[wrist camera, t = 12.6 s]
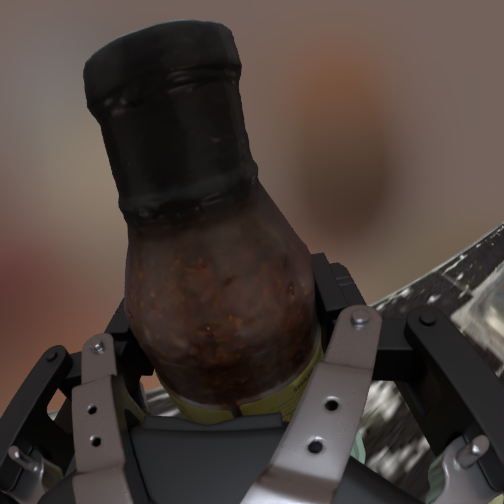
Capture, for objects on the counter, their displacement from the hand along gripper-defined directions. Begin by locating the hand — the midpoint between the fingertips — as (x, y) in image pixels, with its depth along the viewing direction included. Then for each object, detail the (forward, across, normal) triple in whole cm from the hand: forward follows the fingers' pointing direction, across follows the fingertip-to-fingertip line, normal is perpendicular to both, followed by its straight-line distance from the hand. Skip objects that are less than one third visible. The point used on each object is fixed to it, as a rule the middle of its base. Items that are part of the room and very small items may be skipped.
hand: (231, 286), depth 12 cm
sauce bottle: (-2, 0, +11) cm, 11 cm away
